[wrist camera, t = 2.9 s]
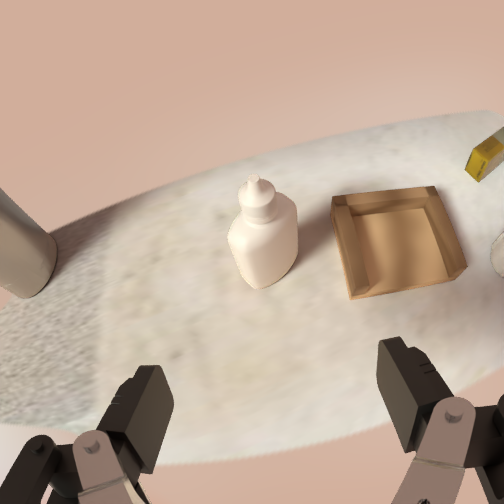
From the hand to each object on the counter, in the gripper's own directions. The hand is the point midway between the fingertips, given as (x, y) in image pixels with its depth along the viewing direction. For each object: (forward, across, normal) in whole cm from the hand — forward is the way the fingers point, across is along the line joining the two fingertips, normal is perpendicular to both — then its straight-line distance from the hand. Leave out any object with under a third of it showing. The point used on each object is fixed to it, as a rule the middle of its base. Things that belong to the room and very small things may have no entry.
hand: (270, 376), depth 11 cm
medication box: (+26, -31, -5) cm, 41 cm away
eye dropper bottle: (+19, 0, +2) cm, 19 cm away
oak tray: (+19, -12, +2) cm, 22 cm away
